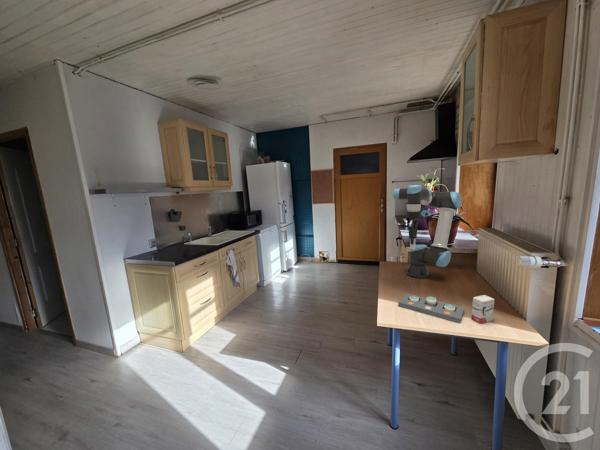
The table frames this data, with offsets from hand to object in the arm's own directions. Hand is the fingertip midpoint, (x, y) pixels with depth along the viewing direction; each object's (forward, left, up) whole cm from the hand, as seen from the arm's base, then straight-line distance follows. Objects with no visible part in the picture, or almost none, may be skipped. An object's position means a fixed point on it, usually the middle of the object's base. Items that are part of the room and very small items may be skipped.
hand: (412, 248), depth 150 cm
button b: (+12, +14, -27) cm, 33 cm away
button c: (+12, +23, -29) cm, 39 cm away
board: (+14, +14, -29) cm, 35 cm away
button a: (+12, +5, -29) cm, 32 cm away
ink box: (+11, +37, -30) cm, 49 cm away
